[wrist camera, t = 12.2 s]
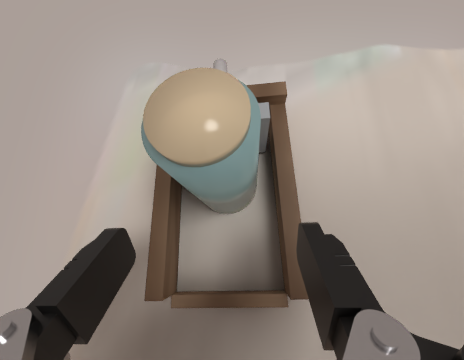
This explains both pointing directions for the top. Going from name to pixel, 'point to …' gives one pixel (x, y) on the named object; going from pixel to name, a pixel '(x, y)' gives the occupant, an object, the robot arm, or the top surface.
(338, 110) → the top surface
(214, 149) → the jar
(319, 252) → the robot arm
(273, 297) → the brown rectangular open frame
